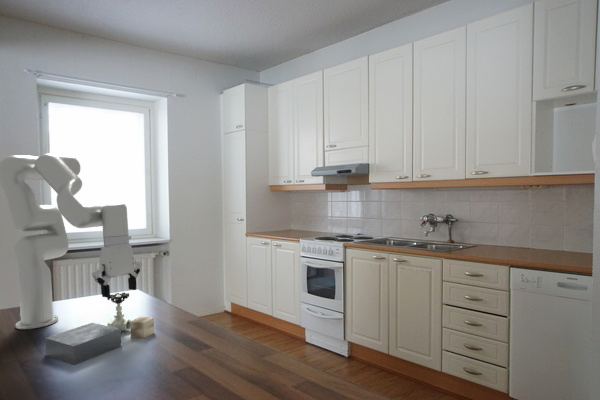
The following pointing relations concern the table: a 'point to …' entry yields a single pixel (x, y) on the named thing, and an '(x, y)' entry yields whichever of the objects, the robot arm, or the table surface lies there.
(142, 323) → the pale wood block
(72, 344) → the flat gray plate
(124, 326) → the valve
